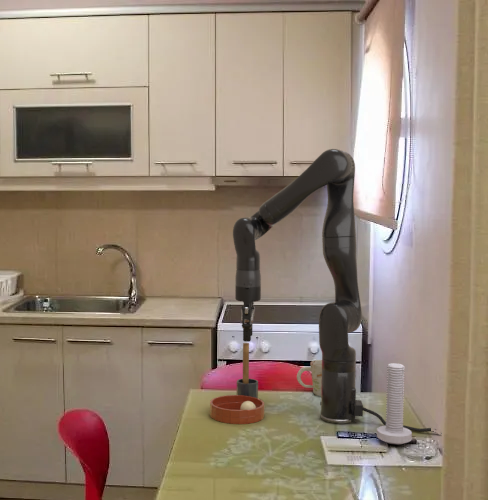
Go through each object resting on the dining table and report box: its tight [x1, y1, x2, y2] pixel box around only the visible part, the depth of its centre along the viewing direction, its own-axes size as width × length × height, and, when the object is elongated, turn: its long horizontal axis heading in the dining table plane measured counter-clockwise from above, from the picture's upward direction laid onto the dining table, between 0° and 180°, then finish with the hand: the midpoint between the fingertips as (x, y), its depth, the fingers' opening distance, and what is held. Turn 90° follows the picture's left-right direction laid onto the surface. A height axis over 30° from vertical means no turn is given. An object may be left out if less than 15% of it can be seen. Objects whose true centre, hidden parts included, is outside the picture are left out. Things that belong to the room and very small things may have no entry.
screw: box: [376, 362, 413, 446], centre depth 175 cm, size 8×8×20 cm
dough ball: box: [240, 401, 256, 410], centre depth 194 cm, size 4×4×4 cm
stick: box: [242, 342, 250, 384], centre depth 207 cm, size 2×2×18 cm
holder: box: [236, 378, 259, 399], centre depth 208 cm, size 6×6×7 cm
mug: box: [296, 359, 322, 397], centre depth 219 cm, size 8×13×10 cm, turn 78°
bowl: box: [209, 394, 265, 425], centre depth 195 cm, size 15×15×4 cm
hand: (247, 338), depth 206 cm, fingers open, 8 cm apart
